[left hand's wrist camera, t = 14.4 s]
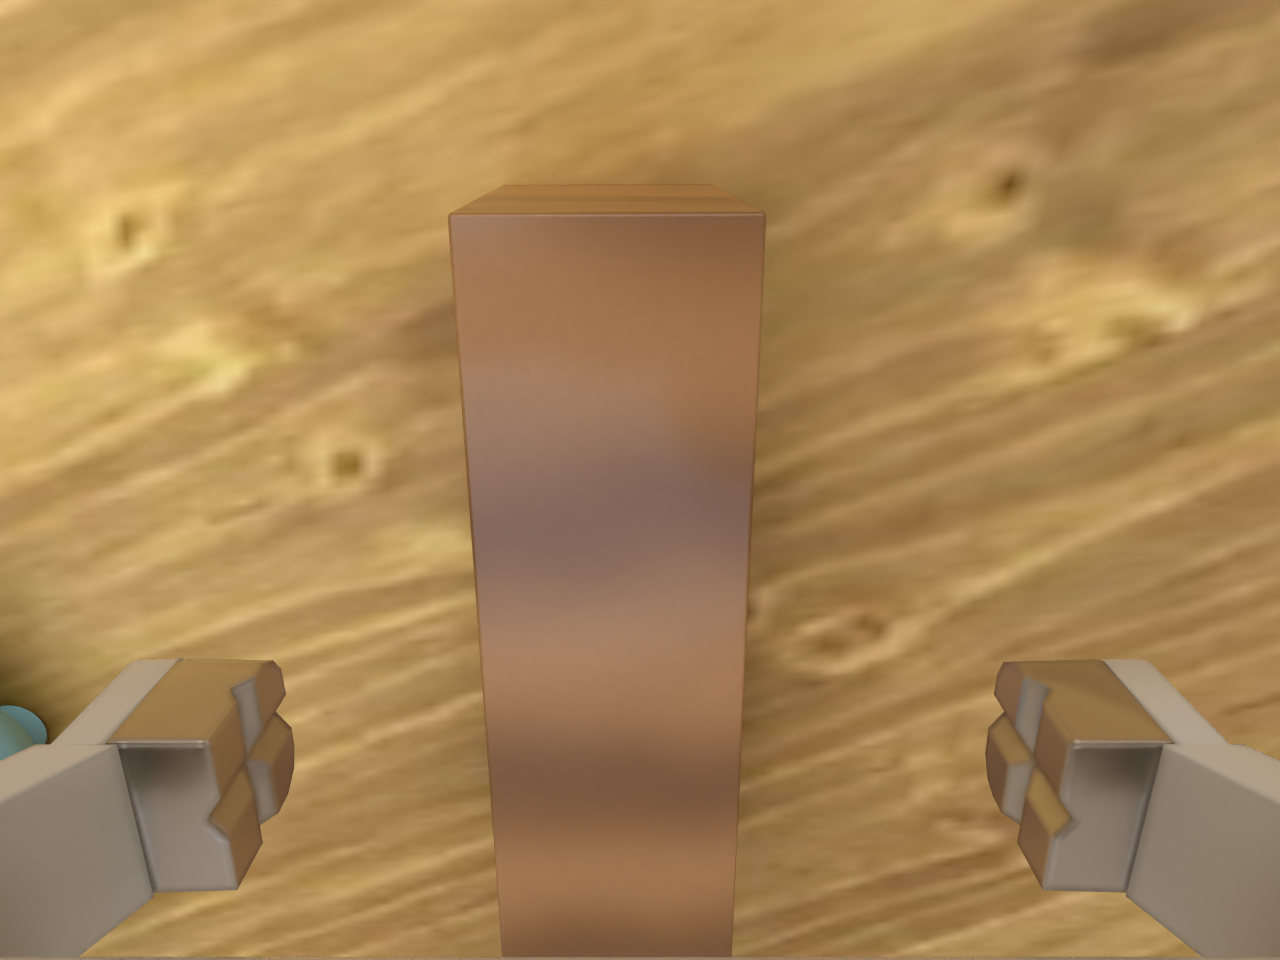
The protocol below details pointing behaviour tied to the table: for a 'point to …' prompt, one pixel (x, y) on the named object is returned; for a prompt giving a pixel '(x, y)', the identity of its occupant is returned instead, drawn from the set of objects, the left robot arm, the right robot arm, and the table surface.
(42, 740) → the teapot
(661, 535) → the box
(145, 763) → the left robot arm
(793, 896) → the table surface
